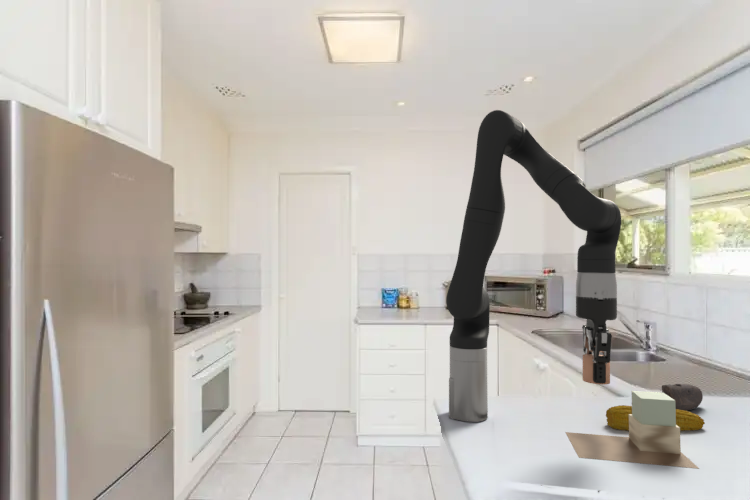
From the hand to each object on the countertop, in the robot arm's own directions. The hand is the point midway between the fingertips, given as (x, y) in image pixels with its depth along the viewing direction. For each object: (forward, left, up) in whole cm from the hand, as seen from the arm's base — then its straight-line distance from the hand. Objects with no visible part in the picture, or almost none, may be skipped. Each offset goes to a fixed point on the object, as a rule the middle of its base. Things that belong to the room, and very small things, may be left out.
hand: (595, 379), depth 92 cm
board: (+5, 0, -14) cm, 15 cm away
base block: (+11, +3, -13) cm, 18 cm away
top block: (+11, +3, -8) cm, 14 cm away
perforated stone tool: (+29, +36, -15) cm, 49 cm away
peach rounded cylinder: (0, 0, 0) cm, 0 cm away
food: (+15, +16, -15) cm, 26 cm away
